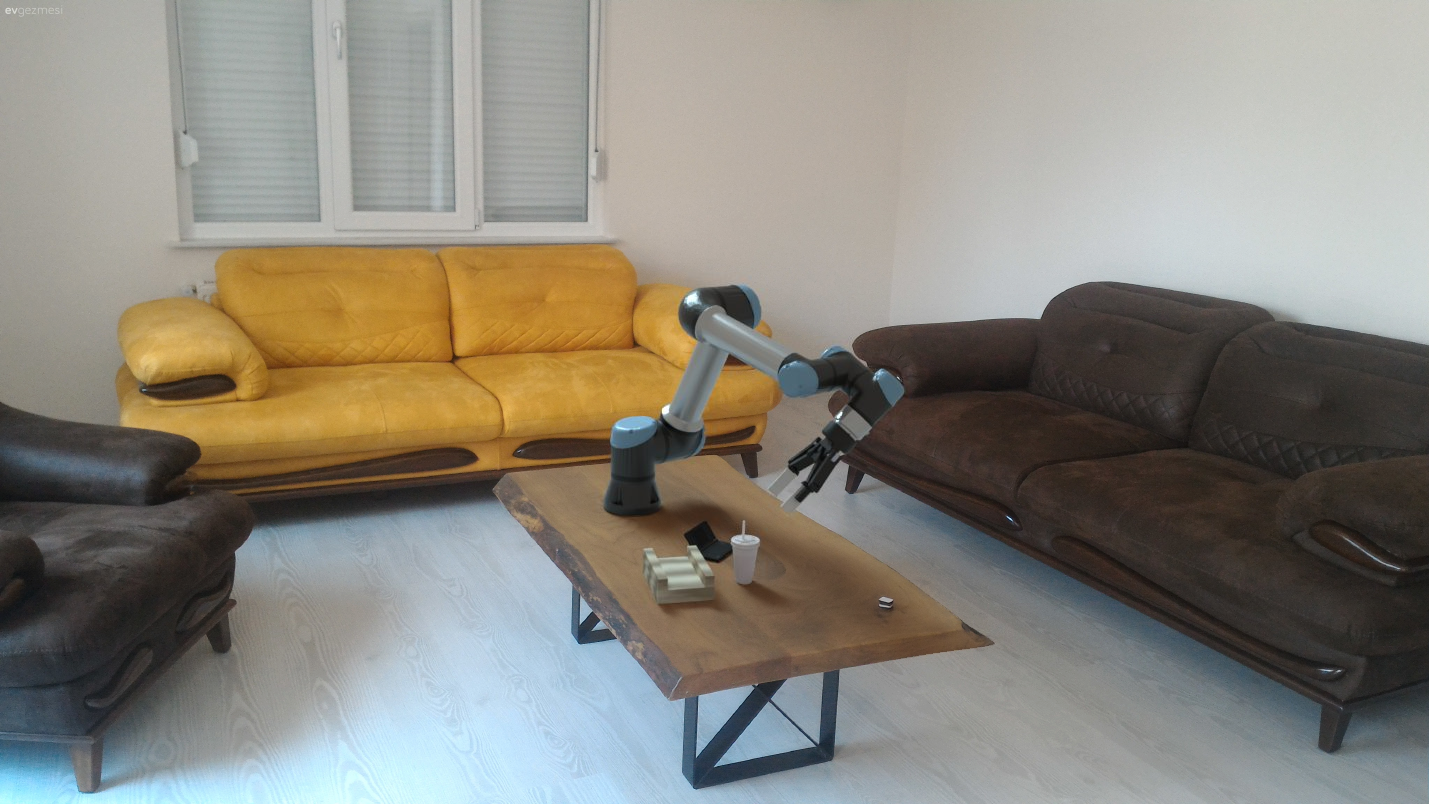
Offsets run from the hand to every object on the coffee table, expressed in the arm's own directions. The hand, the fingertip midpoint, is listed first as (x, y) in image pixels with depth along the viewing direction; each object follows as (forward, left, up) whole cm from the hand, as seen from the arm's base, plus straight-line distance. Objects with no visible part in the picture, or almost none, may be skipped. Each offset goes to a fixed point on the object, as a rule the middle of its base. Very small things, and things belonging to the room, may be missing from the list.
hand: (778, 501), depth 221 cm
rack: (-1, -22, -18) cm, 28 cm away
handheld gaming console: (-19, -10, -19) cm, 28 cm away
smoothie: (-1, -7, -18) cm, 20 cm away
